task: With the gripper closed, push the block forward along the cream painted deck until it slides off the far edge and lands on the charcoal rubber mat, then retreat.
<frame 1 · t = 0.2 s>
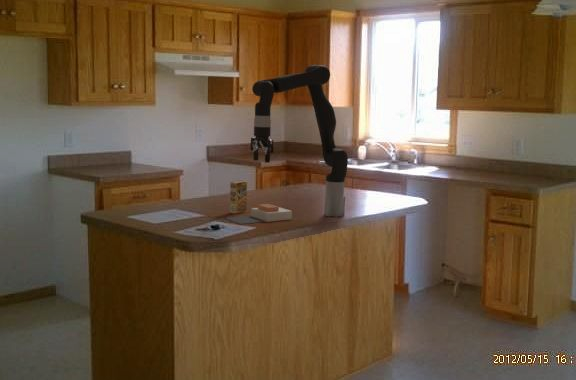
hand: (261, 161, 311), 29 cm above the countertop, fingers open, 8 cm apart
mat: (245, 220, 320), on the countertop
block: (268, 209, 326), point 4 cm above the countertop, touching deck
deck: (271, 217, 328), on the countertop
candy box: (238, 212, 339), on the countertop
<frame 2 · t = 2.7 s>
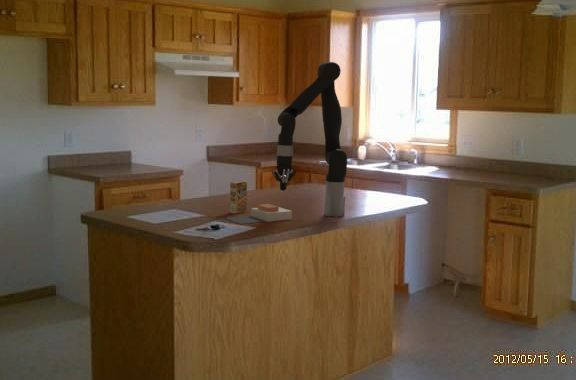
hand: (282, 190, 330), 13 cm above the countertop, fingers closed
nothing on the countertop moved.
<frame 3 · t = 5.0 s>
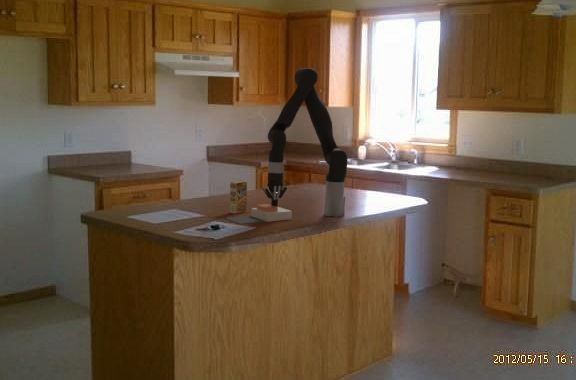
hand: (274, 207, 328), 5 cm above the countertop, fingers closed
block: (267, 210, 326), point 4 cm above the countertop, touching deck, gripper
everything else where it was.
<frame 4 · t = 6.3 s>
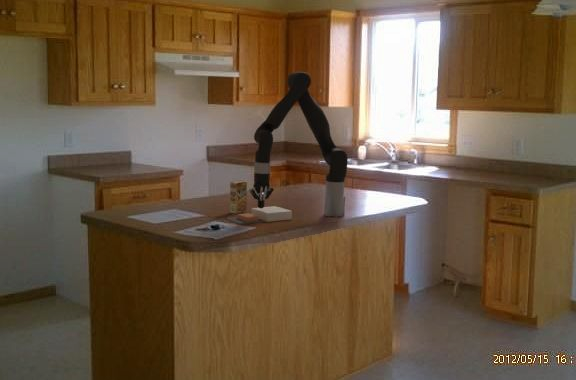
hand: (260, 208, 324), 5 cm above the countertop, fingers closed
block: (247, 215, 320), point 2 cm above the countertop, tilted 180°, touching mat
everything else where it was.
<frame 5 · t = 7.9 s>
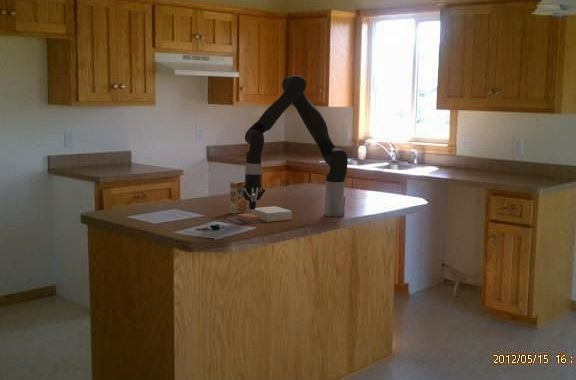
hand: (252, 209, 321), 5 cm above the countertop, fingers closed
nothing on the countertop moved.
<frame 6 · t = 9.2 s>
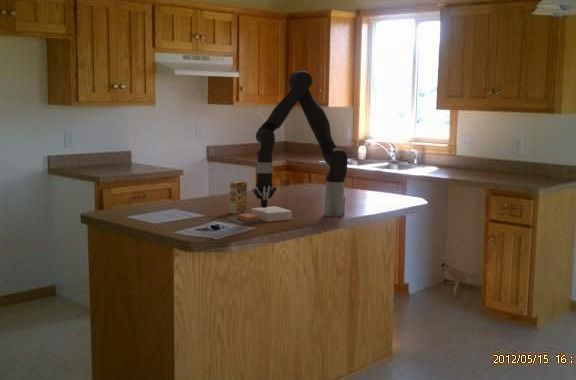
hand: (264, 207, 325), 5 cm above the countertop, fingers closed
nothing on the countertop moved.
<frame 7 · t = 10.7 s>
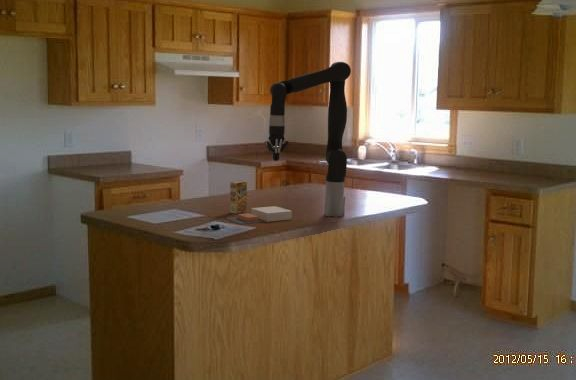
hand: (275, 160, 331), 27 cm above the countertop, fingers closed
nothing on the countertop moved.
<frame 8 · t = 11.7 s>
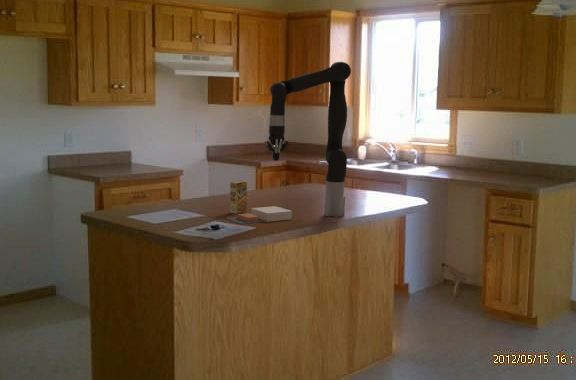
hand: (275, 160, 331), 27 cm above the countertop, fingers closed
nothing on the countertop moved.
at the end: block point 2.3 cm above the countertop; block inside the target area on the mat (1.1 cm from its centre), point 2.3 cm above the mat's base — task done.
